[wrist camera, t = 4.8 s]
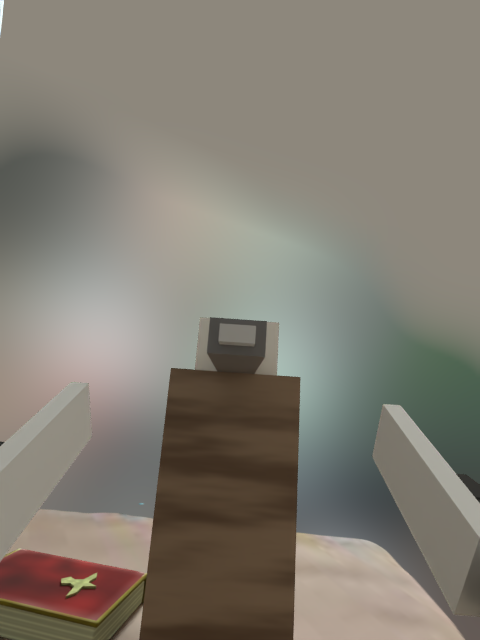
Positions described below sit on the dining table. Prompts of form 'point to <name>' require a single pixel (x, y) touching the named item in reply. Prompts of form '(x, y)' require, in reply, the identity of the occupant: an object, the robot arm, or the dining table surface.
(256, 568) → the stand
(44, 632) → the hardcover book
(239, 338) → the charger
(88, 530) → the dining table surface
